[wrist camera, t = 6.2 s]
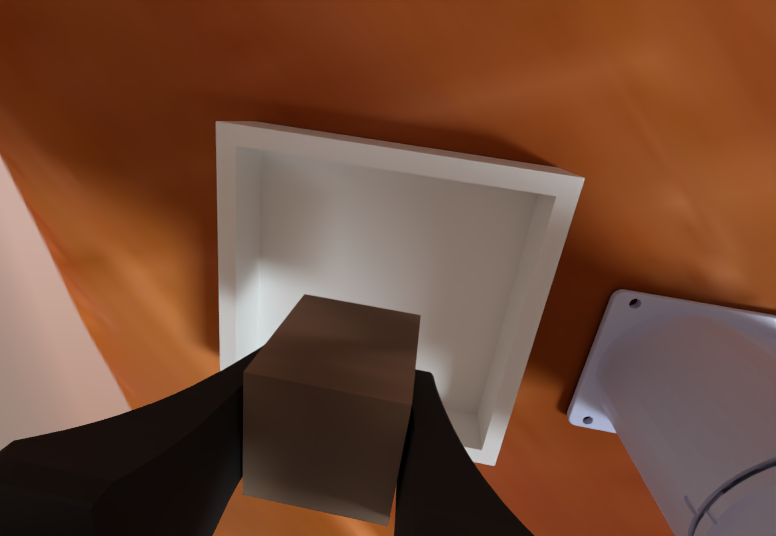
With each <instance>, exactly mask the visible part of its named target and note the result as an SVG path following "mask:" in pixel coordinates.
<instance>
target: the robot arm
mask: <svg viewBox="0 0 776 536" xmlns="http://www.w3.org/2000/svg"><path fill="white" fill-rule="evenodd" d="M633 299H637V302H636V303H635V304H634V305H629V303H630V301H631V300H633ZM262 348H263V346H262V347H260V348H259V349H257V350H255V351H254V352H252V353H250V354H249V355H247V356H245V357H244V358H242V359H240V360H239V361H237V362H235V363H234V364H232V365H230V366H229V367H227V368H225V369H223V370H222V371H220V372H218V373H216V374H214V375H212V376H210V377H208V378H207V379H205V380H203V381H201V382H199V383H197V384H195V385H193V386H191V387H189V388H187V389H185V390H183V391H180V392H178V393H176V394H174V395H171V396H169V397H167V398H164V399H162V400H159V401H157V402H154V403H152V404H149V405H146V406H143V407H140V408H137V409H135V410H132V411H129V412H126V413H123V414H120V415H117V416H114V417H111V418H108V419H104V420H101V421H97V422H94V423H90V424H86V425H83V426H79V427H75V428H71V429H67V430H63V431H58V432H53V433H49V434H44V435H39V436H35V437H30V438H25V439H20V440H15V441H13V442H11V443H10V444H9V445H8V446H6V447H5V448H3V449H2V450H1V451H0V536H212V535H213V533H214V531H215V529H216V527H217V525H218V523H219V520H220V518H221V516H222V514H223V512H224V510H225V508H226V506H227V504H228V501H229V499H230V498H231V496H232V494H233V492H234V490H235V488H236V487H237V485H238V483H239V481H240V480H241V478H242V476H243V372H244V371H245V369H246V368H247V367H248V365H249V364H250V363H251V362H252V360H253V359H254V358H255V357H256V355H257V354H258V353H259V351H260V350H261V349H262ZM587 416H590V417H589V418H588V419H584V418H585V417H587ZM567 417H568V420H569V422H570V423H571V424H573V425H577V426H582V427H587V428H592V429H597V430H602V431H607V432H612V433H617V435H618V436H619V438H620V440H621V442H622V443H623V445H624V447H625V449H626V450H627V452H628V454H629V456H630V458H631V459H632V461H633V463H634V465H635V466H636V468H637V470H638V472H639V473H640V475H641V477H642V479H643V481H644V482H645V484H646V486H647V488H648V489H649V491H650V493H651V495H652V496H653V498H654V500H655V502H656V504H657V505H658V507H659V509H660V511H661V512H662V514H663V516H664V518H665V519H666V521H667V523H668V525H669V527H670V528H671V530H672V532H673V534H674V535H675V536H776V315H771V314H765V313H760V312H754V311H748V310H742V309H736V308H730V307H725V306H719V305H713V304H707V303H701V302H695V301H690V300H684V299H678V298H672V297H666V296H660V295H655V294H649V293H643V292H637V291H631V290H625V289H620V290H617V291H615V292H614V293H613V294H612V295H611V297H610V300H609V302H608V305H607V308H606V310H605V313H604V316H603V318H602V321H601V324H600V326H599V329H598V332H597V334H596V337H595V340H594V342H593V345H592V347H591V350H590V353H589V355H588V358H587V361H586V363H585V366H584V369H583V371H582V374H581V377H580V379H579V382H578V385H577V387H576V390H575V393H574V395H573V398H572V400H571V403H570V406H569V408H568V411H567ZM394 536H534V535H533V534H532V533H531V532H530V531H529V530H528V529H527V528H526V527H525V526H524V525H523V524H522V523H521V522H520V521H519V519H518V518H517V517H516V516H515V515H514V514H513V513H512V512H511V511H510V510H509V509H508V507H507V506H506V505H505V504H504V503H503V501H502V500H501V499H500V498H499V496H498V495H497V494H496V493H495V491H494V490H493V489H492V488H491V486H490V485H489V484H488V483H487V481H486V480H485V479H484V477H483V476H482V474H481V473H480V471H479V470H478V469H477V467H476V466H475V464H474V462H473V461H472V459H471V458H470V456H469V455H468V453H467V451H466V450H465V448H464V446H463V444H462V443H461V441H460V439H459V437H458V435H457V433H456V432H455V430H454V428H453V426H452V424H451V421H450V419H449V417H448V415H447V413H446V410H445V408H444V406H443V403H442V401H441V398H440V396H439V393H438V390H437V387H436V384H435V380H434V376H433V375H432V373H431V372H427V371H422V370H417V369H415V379H414V389H413V399H412V407H411V412H410V417H409V422H408V427H407V432H406V437H405V442H404V447H403V452H402V457H401V462H400V467H399V473H398V478H397V485H396V513H395V530H394Z"/></svg>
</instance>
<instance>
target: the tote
mask: <svg viewBox="0 0 776 536" xmlns="http://www.w3.org/2000/svg"><path fill="white" fill-rule="evenodd" d="M216 169H217V224H218V280H219V335H220V371H222V370H223V369H225V368H227V367H229V366H230V365H232V364H234V363H235V362H237V361H239V360H240V359H242V358H244V357H245V356H247V355H249V354H250V353H252V352H254V351H255V350H257V349H259V348H260V347H262V346H264V345H265V344H266V342H267V341H268V340H269V339H270V337H271V336H272V335H273V334H274V332H275V331H276V330H277V328H278V327H279V326H280V325H281V323H282V322H283V321H284V319H285V318H286V317H287V316H288V314H289V313H290V312H291V311H292V309H293V308H294V307H295V305H296V304H297V303H298V302H299V300H300V299H301V298H302V297H303V295H304V294H307V295H312V296H318V297H323V298H329V299H334V300H340V301H345V302H351V303H356V304H362V305H368V306H373V307H379V308H384V309H390V310H395V311H401V312H406V313H412V314H417V315H421V318H420V328H419V338H418V348H417V358H416V368H415V369H417V370H422V371H427V372H431V373H432V375H433V376H434V380H435V384H436V387H437V390H438V393H439V396H440V398H441V401H442V403H443V406H444V408H445V410H446V413H447V415H448V417H449V419H450V421H451V424H452V426H453V428H454V430H455V432H456V433H457V435H458V437H459V439H460V441H461V443H462V444H463V446H464V448H465V450H466V451H467V453H468V455H469V456H470V458H471V459H472V461H473V462H477V463H482V464H487V465H492V466H495V463H496V460H497V457H498V454H499V451H500V447H501V444H502V441H503V438H504V435H505V431H506V428H507V425H508V422H509V419H510V416H511V412H512V409H513V406H514V403H515V400H516V396H517V393H518V390H519V387H520V384H521V380H522V377H523V374H524V371H525V368H526V365H527V361H528V358H529V355H530V352H531V349H532V345H533V342H534V339H535V336H536V333H537V330H538V326H539V323H540V320H541V317H542V314H543V310H544V307H545V304H546V301H547V298H548V294H549V291H550V288H551V285H552V282H553V279H554V275H555V272H556V269H557V266H558V263H559V259H560V256H561V253H562V250H563V247H564V244H565V240H566V237H567V234H568V231H569V228H570V224H571V221H572V218H573V215H574V212H575V208H576V205H577V202H578V199H579V196H580V193H581V189H582V186H583V183H584V180H585V178H584V177H581V176H579V175H576V174H573V173H571V172H568V171H566V170H563V169H561V168H558V167H551V166H545V165H538V164H532V163H525V162H519V161H512V160H506V159H499V158H493V157H486V156H480V155H473V154H467V153H460V152H453V151H447V150H440V149H434V148H427V147H421V146H414V145H408V144H401V143H395V142H388V141H382V140H375V139H369V138H362V137H356V136H349V135H342V134H336V133H329V132H323V131H316V130H310V129H303V128H297V127H290V126H284V125H277V124H271V123H264V122H258V121H216Z"/></svg>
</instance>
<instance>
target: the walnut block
mask: <svg viewBox="0 0 776 536" xmlns="http://www.w3.org/2000/svg"><path fill="white" fill-rule="evenodd" d="M420 318H421V315H417V314H412V313H406V312H401V311H395V310H390V309H384V308H379V307H373V306H368V305H362V304H356V303H351V302H345V301H340V300H334V299H329V298H323V297H318V296H312V295H307V294H304V295H303V297H302V298H301V299H300V300H299V302H298V303H297V304H296V305H295V307H294V308H293V309H292V311H291V312H290V313H289V314H288V316H287V317H286V318H285V319H284V321H283V322H282V323H281V325H280V326H279V327H278V328H277V330H276V331H275V332H274V334H273V335H272V336H271V337H270V339H269V340H268V341H267V342H266V344H265V345H264V346H263V348H262V349H261V350H260V351H259V353H258V354H257V355H256V357H255V358H254V359H253V360H252V362H251V363H250V364H249V365H248V367H247V368H246V369H245V371H244V372H243V495H247V496H252V497H256V498H261V499H265V500H270V501H275V502H279V503H284V504H288V505H293V506H298V507H302V508H307V509H311V510H316V511H321V512H325V513H330V514H334V515H339V516H344V517H348V518H353V519H358V520H362V521H367V522H371V523H376V524H381V525H385V526H388V523H389V518H390V513H391V508H392V503H393V498H394V493H395V488H396V483H397V478H398V473H399V467H400V462H401V457H402V452H403V447H404V442H405V437H406V432H407V427H408V422H409V417H410V412H411V407H412V399H413V389H414V379H415V368H416V358H417V348H418V338H419V328H420Z"/></svg>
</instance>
